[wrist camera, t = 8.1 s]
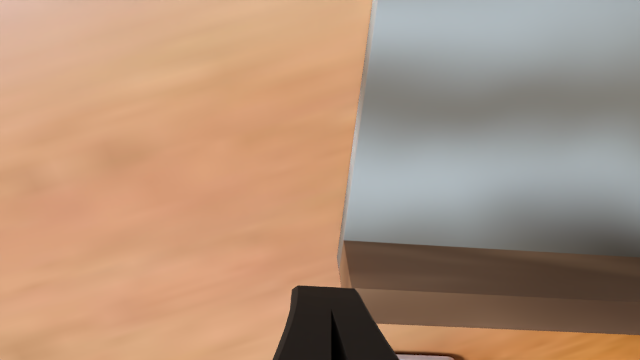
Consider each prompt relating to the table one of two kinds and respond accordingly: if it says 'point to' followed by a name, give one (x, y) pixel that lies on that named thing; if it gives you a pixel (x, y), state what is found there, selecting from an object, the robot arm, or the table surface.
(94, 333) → the table surface
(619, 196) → the bay
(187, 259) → the table surface
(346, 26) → the table surface
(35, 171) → the table surface
